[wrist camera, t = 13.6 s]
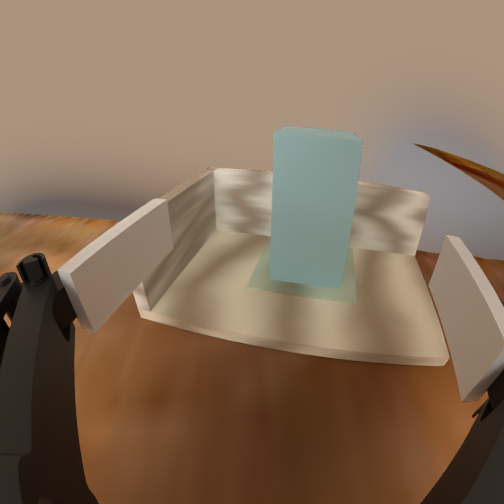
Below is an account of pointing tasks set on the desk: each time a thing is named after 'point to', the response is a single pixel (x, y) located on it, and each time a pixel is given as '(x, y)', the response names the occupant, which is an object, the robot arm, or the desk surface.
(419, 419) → the desk surface
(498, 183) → the desk surface
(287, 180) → the teal block
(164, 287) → the arena
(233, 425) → the desk surface
